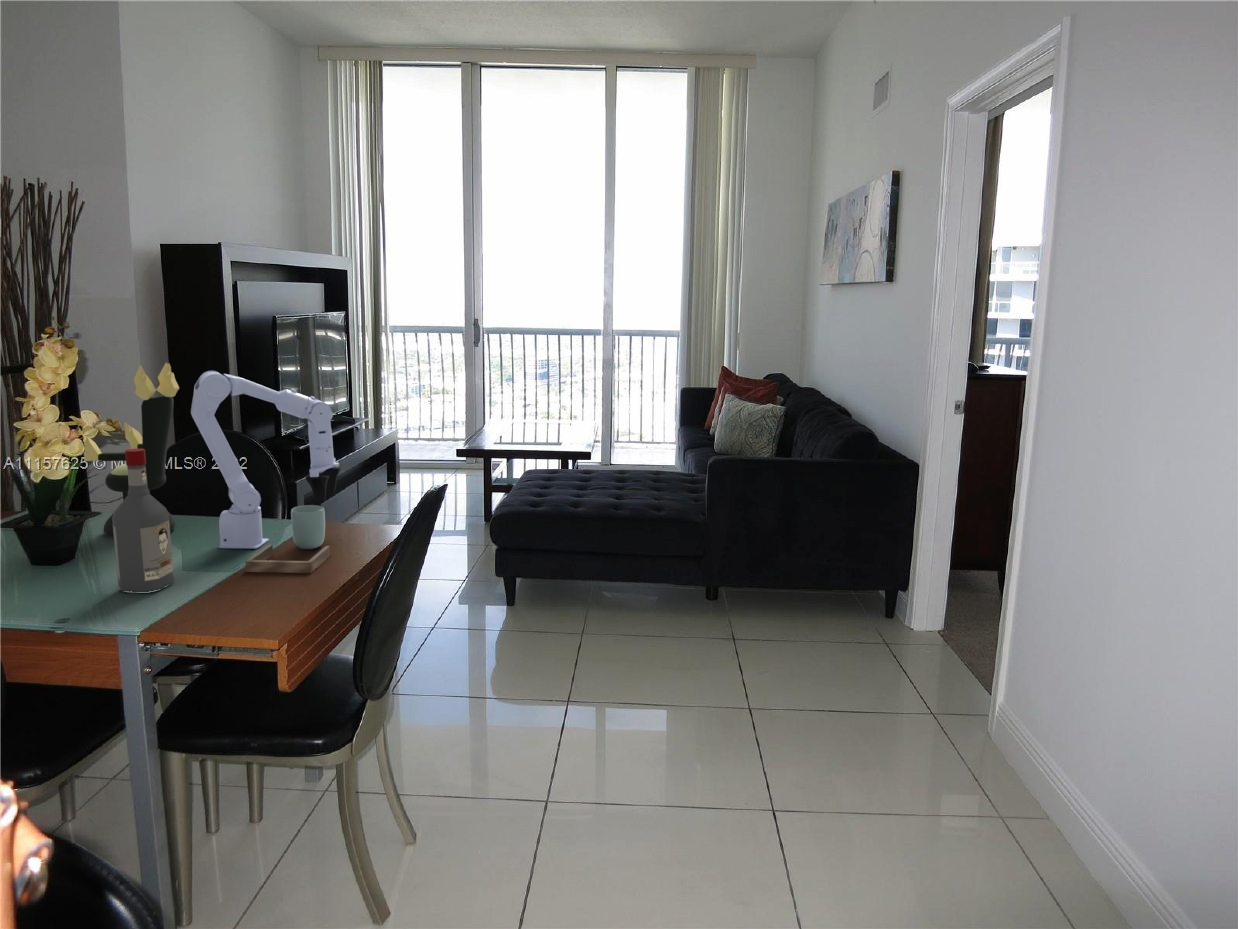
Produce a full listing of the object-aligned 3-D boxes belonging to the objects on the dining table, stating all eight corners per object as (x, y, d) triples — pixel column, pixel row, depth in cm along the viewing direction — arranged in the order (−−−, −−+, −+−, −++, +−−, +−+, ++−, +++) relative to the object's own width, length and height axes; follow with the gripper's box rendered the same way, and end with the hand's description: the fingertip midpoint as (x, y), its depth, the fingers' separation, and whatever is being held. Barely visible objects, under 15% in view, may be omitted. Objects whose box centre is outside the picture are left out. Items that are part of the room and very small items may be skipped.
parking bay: (245, 571, 199) (245, 561, 199) (268, 554, 212) (268, 544, 212) (311, 573, 199) (311, 562, 199) (330, 555, 212) (330, 545, 212)
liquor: (112, 593, 184) (99, 453, 178) (139, 579, 192) (127, 445, 187) (154, 595, 183) (142, 454, 177) (179, 581, 192) (168, 447, 186)
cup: (331, 543, 223) (329, 505, 221) (317, 552, 215) (315, 513, 213) (301, 542, 223) (299, 504, 222) (287, 550, 216) (285, 511, 214)
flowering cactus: (133, 521, 240) (119, 357, 232) (209, 525, 238) (197, 359, 229) (84, 539, 222) (67, 362, 213) (166, 544, 219) (152, 364, 211)
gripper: (327, 452, 218) (332, 504, 221) (345, 441, 232) (349, 491, 235) (299, 452, 218) (304, 505, 221) (319, 442, 232) (323, 491, 235)
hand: (325, 498), depth 228 cm, fingers open, 7 cm apart
